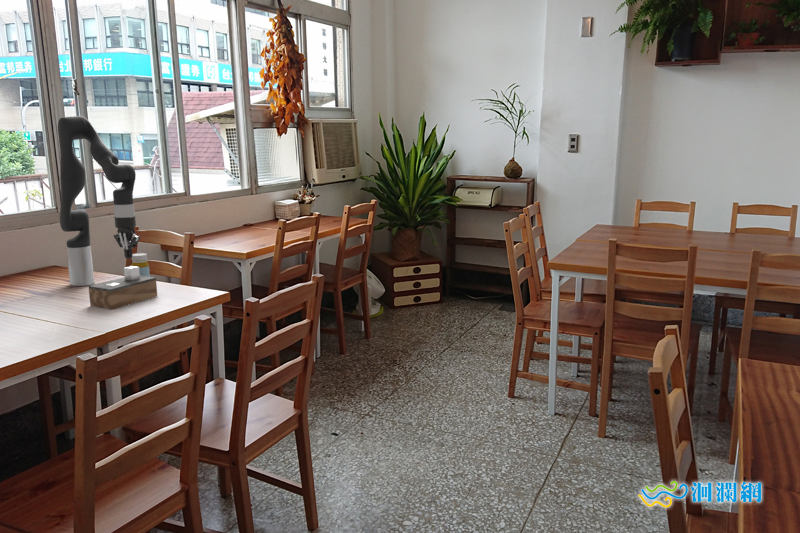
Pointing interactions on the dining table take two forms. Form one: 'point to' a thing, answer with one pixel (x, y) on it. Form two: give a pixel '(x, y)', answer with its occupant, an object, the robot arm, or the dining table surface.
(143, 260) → the bottle
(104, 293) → the walnut block
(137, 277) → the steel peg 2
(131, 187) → the robot arm
